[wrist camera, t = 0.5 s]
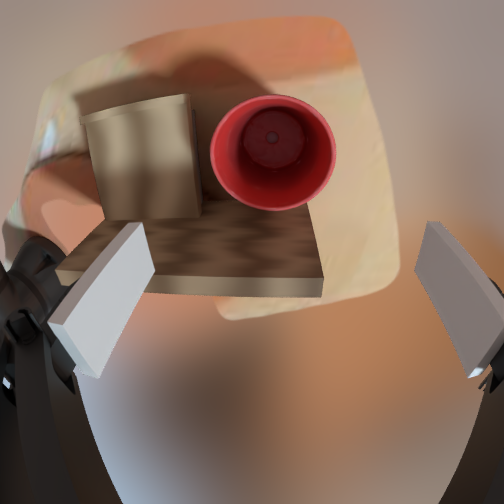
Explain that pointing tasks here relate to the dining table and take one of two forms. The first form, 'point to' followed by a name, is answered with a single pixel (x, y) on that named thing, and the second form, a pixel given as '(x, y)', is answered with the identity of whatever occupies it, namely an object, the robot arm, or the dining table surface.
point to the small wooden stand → (146, 159)
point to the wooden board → (219, 252)
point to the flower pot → (273, 152)
